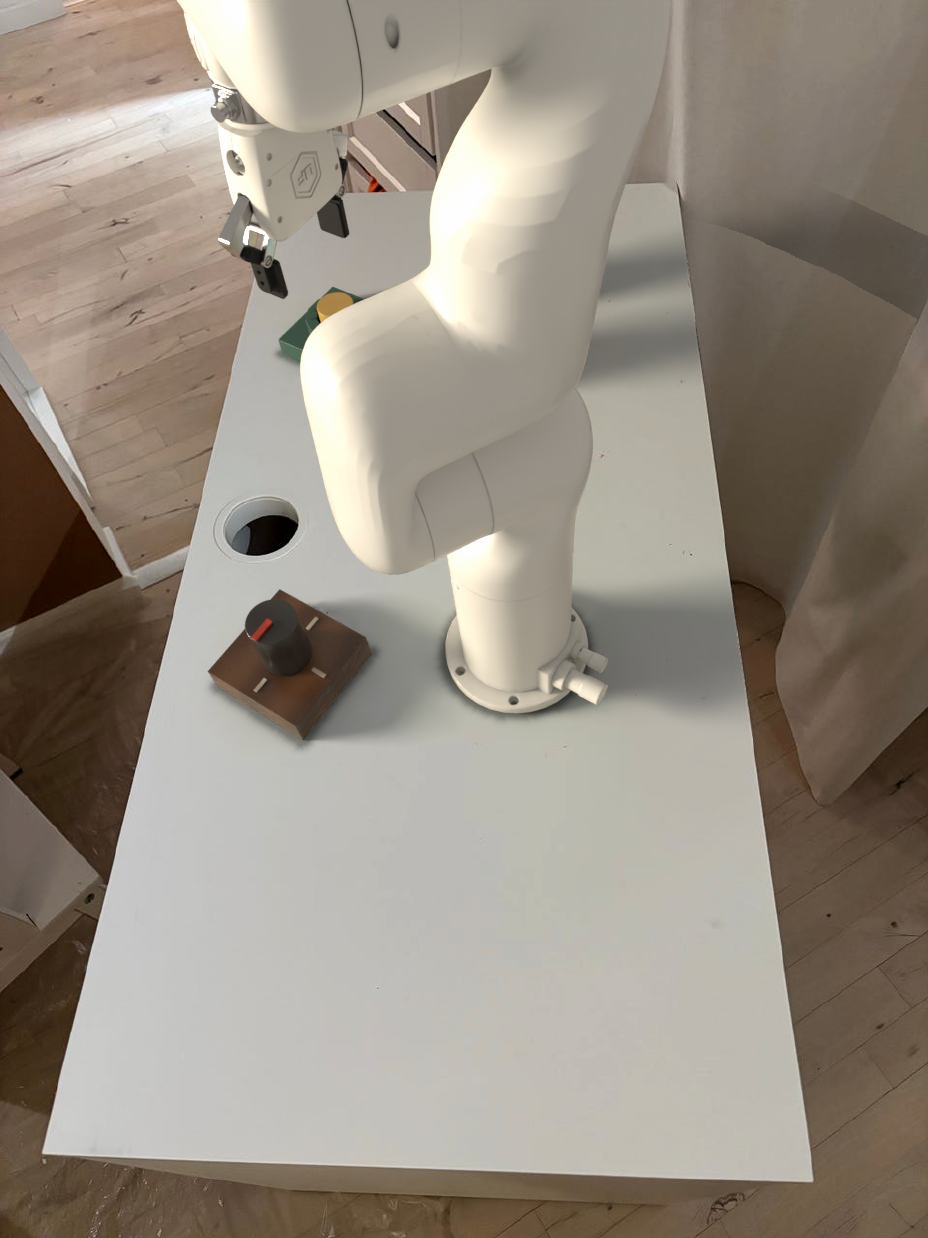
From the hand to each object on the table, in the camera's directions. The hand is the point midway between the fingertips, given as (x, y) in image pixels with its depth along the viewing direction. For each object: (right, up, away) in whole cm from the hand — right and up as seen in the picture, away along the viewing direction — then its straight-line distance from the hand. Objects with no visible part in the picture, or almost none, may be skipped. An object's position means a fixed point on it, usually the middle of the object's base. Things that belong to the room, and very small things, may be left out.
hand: (305, 262), depth 91 cm
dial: (0, -37, -9) cm, 38 cm away
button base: (+2, -3, +16) cm, 16 cm away
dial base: (0, -39, -6) cm, 40 cm away
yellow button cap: (+1, -1, +13) cm, 13 cm away
